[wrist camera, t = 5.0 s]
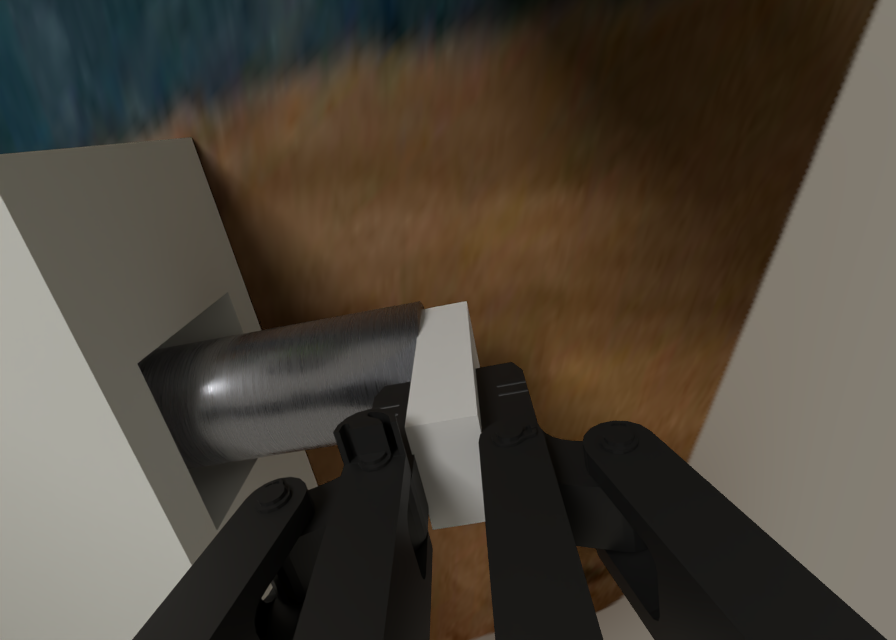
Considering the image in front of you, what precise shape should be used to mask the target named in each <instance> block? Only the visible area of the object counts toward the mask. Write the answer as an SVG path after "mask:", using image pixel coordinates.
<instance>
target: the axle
mask: <svg viewBox="0 0 896 640" xmlns="http://www.w3.org/2000/svg"><path fill="white" fill-rule="evenodd" d="M423 309H424V306H423V304H422V303H421V302H420V301H419V302H414V303H408V304H403V305H397V306H392V307H386V308H381V309H375V310H370V311H364V312H359V313H353V314H348V315H343V316H337V317H332V318H326V319H321V320H315V321H310V322H304V323H299V324H293V325H288V326H282V327H277V328H271V329H266V330H260V331H255V332H249V333H244V334H238V335H233V336H227V337H222V338H216V339H211V340H205V341H200V342H194V343H189V344H183V345H178V346H172V347H167V348H161V349H156V350H154V351H152V352H151V353H150V354H149V355H147V356H146V357H145V358H144V359H142V360H141V361H140V362H139V363H137V364H138V366H139V368H140V370H141V372H142V374H143V376H144V379H145V381H146V383H147V385H148V387H149V389H150V391H151V393H152V395H153V397H154V400H155V402H156V404H157V406H158V408H159V410H160V412H161V414H162V416H163V418H164V421H165V423H166V425H167V427H168V429H169V431H170V433H171V435H172V437H173V439H174V442H175V444H176V446H177V448H178V450H179V452H180V454H181V456H182V458H183V461H184V463H185V465H186V467H187V469H192V468H198V467H204V466H211V465H217V464H223V463H229V462H235V461H242V460H248V459H254V458H260V457H266V456H273V455H279V454H285V453H291V452H297V451H303V450H310V449H316V448H322V447H328V446H334V445H337V442H336V440H335V437H334V434H333V432H334V430H335V428H336V427H337V425H338V424H339V423H341V422H342V421H343V420H344V419H346V418H347V417H349V416H351V415H353V414H355V413H357V412H361V411H364V410H368V409H372V406H373V402H374V398H375V396H376V395H377V394H378V393H379V392H380V391H381V390H382V389H383V387H384V386H388V385H394V384H399V383H405V382H411V378H412V371H413V364H414V357H415V350H416V343H417V337H418V333H419V326H420V319H421V313H422V310H423Z"/></svg>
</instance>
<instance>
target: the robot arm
mask: <svg viewBox="0 0 896 640" xmlns="http://www.w3.org/2000/svg"><path fill="white" fill-rule="evenodd" d="M333 434H334V437H335V440H336V442H337V445H338V448H339V451H340V454H341V457H342V460H343V463H344V467H343V471H342V474H341V476H340V477H338V478H336V479H334V480H332V481H330V482H328V483H325V484H323V485H320V486H318V487H315V488H312V489H310V490H308V488H307V486H306V483H305V482H303V481H302V480H301V479H300V478H295V477H285V478H278V479H276V480H273V481H270V482H268V483H266V484H264V485H262V486H261V487H259V488H258V489H256V490H255V491H254V492H252V493H251V494H250V495H249V496H248V497H247V498H246V499H245V500H244V502H243V503H242V504H241V505H240V507H239V508H238V509H237V510H236V512H235V513H234V514H233V515H232V517H231V518H230V519H229V520H228V522H227V523H226V524H225V525H224V526H223V528H222V529H221V530H220V531H219V533H218V534H217V535H216V536H215V538H214V539H213V540H212V541H211V543H210V544H209V545H208V546H207V548H206V549H205V550H204V551H203V552H202V554H201V555H200V556H199V557H198V559H197V560H196V561H195V562H194V564H193V565H192V566H191V567H190V569H189V570H188V571H187V572H186V574H185V575H184V576H183V577H182V578H181V580H180V581H179V582H178V583H177V585H176V586H175V587H174V588H173V590H172V591H171V592H170V593H169V595H168V596H167V597H166V598H165V599H164V601H163V602H162V603H161V604H160V606H159V607H158V608H157V609H156V611H155V612H154V613H153V614H152V616H151V617H150V618H149V619H148V621H147V622H146V623H145V624H144V625H143V627H142V628H141V629H140V630H139V632H138V633H137V634H136V635H135V637H134V638H133V639H132V640H429V639H430V610H431V581H432V552H433V549H432V544H431V540H430V536H429V533H428V514H429V517H430V521H431V524H432V528H433V530H434V529H440V528H447V527H453V526H460V525H466V524H473V523H479V522H485V524H486V536H487V547H488V559H489V570H490V582H491V594H492V605H493V617H494V628H495V640H603V637H602V634H601V630H600V627H599V623H598V620H597V616H596V613H595V609H594V606H593V603H592V599H591V596H590V592H589V589H588V585H587V582H586V578H585V575H584V572H583V568H582V565H581V561H580V558H579V554H578V551H577V548H576V546H582V547H589V548H596V550H597V553H598V555H599V557H600V559H601V560H602V562H603V563H604V565H605V566H606V568H607V569H608V571H609V572H610V574H611V575H612V577H613V578H614V580H615V581H616V583H617V584H618V586H619V587H620V589H621V590H622V592H623V593H624V595H625V596H626V598H627V599H628V601H629V602H630V604H631V605H632V607H633V608H634V610H635V611H636V613H637V614H638V616H639V617H640V619H641V620H642V622H643V623H644V625H645V626H646V628H647V629H648V631H649V632H650V634H651V635H652V637H653V638H654V640H887V639H886V638H884V637H883V636H882V635H881V634H880V633H879V632H878V631H877V630H876V629H874V628H873V627H872V626H871V625H870V624H869V623H868V622H866V621H865V620H864V619H863V618H862V617H861V616H860V615H859V614H857V613H856V612H855V611H854V610H853V609H852V608H851V607H850V606H848V605H847V604H846V603H845V602H844V601H843V600H842V599H840V598H839V597H838V596H837V595H836V594H835V593H833V592H832V591H831V590H830V589H829V588H828V587H827V586H825V584H823V583H822V582H821V581H820V580H819V579H818V578H817V577H816V576H814V575H813V574H812V573H811V572H810V571H809V570H807V569H806V568H805V567H804V566H803V565H802V564H801V563H800V562H799V561H797V560H796V559H795V558H794V557H793V556H792V555H791V554H789V553H788V552H787V551H786V550H785V549H784V548H783V547H781V546H780V545H779V544H778V543H777V542H776V541H775V540H774V539H772V538H771V537H770V536H769V535H768V534H767V533H766V532H764V531H763V530H762V529H761V528H760V527H759V526H757V524H755V523H754V522H753V521H752V520H751V519H750V518H749V517H747V516H746V515H745V514H744V513H743V512H742V511H741V510H740V509H738V508H737V507H736V506H735V505H734V504H733V503H732V502H731V501H729V500H728V499H727V498H726V497H725V496H724V495H723V494H721V493H720V492H719V491H718V490H717V489H716V488H715V487H714V486H712V485H711V484H710V483H709V482H708V481H707V480H706V479H704V478H703V477H702V476H701V475H700V474H699V473H698V472H697V471H695V470H694V469H693V468H692V467H691V466H690V465H689V464H687V463H686V462H685V461H684V460H683V459H682V458H681V457H680V456H678V455H677V454H676V453H675V452H674V451H673V450H672V449H670V448H669V447H668V446H667V445H666V444H665V443H664V442H663V441H661V440H660V439H659V438H658V437H657V436H656V435H655V434H653V433H652V432H651V431H650V430H648V429H647V428H645V427H643V426H642V425H640V424H636V423H632V422H628V421H610V422H605V423H600V424H598V425H596V426H594V427H592V428H590V429H589V431H588V432H587V433H586V434H585V435H584V439H583V441H569V440H562V439H558V438H555V437H552V436H550V435H548V434H546V433H545V432H544V431H543V430H542V429H541V428H540V427H539V425H538V423H537V419H536V416H535V412H534V409H533V405H532V402H531V398H530V395H529V391H528V388H527V384H526V381H525V377H524V374H523V370H522V369H521V368H519V367H518V366H517V365H515V364H514V363H513V362H510V363H504V364H498V365H493V366H487V367H481V368H480V365H479V360H478V355H477V350H476V345H475V340H474V335H473V330H472V325H471V320H470V315H469V310H468V305H467V301H465V302H460V303H454V304H449V305H444V306H438V307H433V308H428V309H423V310H422V313H421V319H420V326H419V333H418V337H417V343H416V350H415V357H414V364H413V371H412V378H411V382H405V383H399V384H394V385H388V386H384V387H383V389H382V390H381V391H380V392H379V393H378V394H377V395H376V396H375V398H374V402H373V406H372V409H368V410H364V411H361V412H357V413H355V414H353V415H351V416H349V417H347V418H346V419H344V420H343V421H342V422H341V423H339V424H338V425H337V427H336V428H335V430H334V432H333ZM270 583H271V585H272V587H273V588H272V589H271V591H270V593H269V594H268V596H267V597H266V598H265V599H264V600H262V596H263V595H264V593H265V591H266V590H267V588H268V587H269V585H270Z"/></svg>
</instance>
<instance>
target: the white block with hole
mask: <svg viewBox="0 0 896 640" xmlns="http://www.w3.org/2000/svg"><path fill="white" fill-rule="evenodd" d="M260 330H261V328H260V325H259V322H258V320H257V317H256V314H255V311H254V309H253V306H252V303H251V300H250V298H249V295H248V292H247V289H246V287H245V284H244V281H243V278H242V276H241V273H240V270H239V267H238V265H237V262H236V259H235V256H234V254H233V251H232V248H231V245H230V243H229V240H228V237H227V234H226V231H225V229H224V226H223V223H222V220H221V218H220V215H219V212H218V209H217V207H216V204H215V201H214V198H213V196H212V193H211V190H210V187H209V185H208V182H207V179H206V176H205V174H204V171H203V168H202V165H201V163H200V160H199V157H198V154H197V152H196V149H195V146H194V143H193V141H192V138H191V137H190V138H179V139H168V140H156V141H145V142H134V143H123V144H111V145H100V146H89V147H77V148H66V149H55V150H44V151H32V152H21V153H10V154H0V640H132V639H133V638H134V637H135V635H136V634H137V633H138V632H139V630H140V629H141V628H142V627H143V625H144V624H145V623H146V622H147V621H148V619H149V618H150V617H151V616H152V614H153V613H154V612H155V611H156V609H157V608H158V607H159V606H160V604H161V603H162V602H163V601H164V599H165V598H166V597H167V596H168V595H169V593H170V592H171V591H172V590H173V588H174V587H175V586H176V585H177V583H178V582H179V581H180V580H181V578H182V577H183V576H184V575H185V574H186V572H187V571H188V570H189V569H190V567H191V566H192V565H193V564H194V562H195V561H196V560H197V559H198V557H199V556H200V555H201V554H202V552H203V551H204V550H205V549H206V548H207V546H208V545H209V544H210V543H211V541H212V540H213V539H214V538H215V536H216V535H217V534H218V533H219V531H220V530H221V529H222V528H223V526H224V525H225V524H226V523H227V522H228V520H229V519H230V518H231V517H232V515H233V514H234V513H235V512H236V510H237V509H238V508H239V507H240V505H241V504H242V503H243V502H244V500H245V499H246V498H247V497H248V496H249V495H250V494H251V493H252V492H254V491H255V490H256V489H258V488H259V487H261V486H262V485H264V484H266V483H268V482H270V481H273V480H276V479H278V478H285V477H295V478H300V479H301V480H302V481H303V482H305V483H306V486H307V488H308V490H310V489H312V488H315V487H318V485H317V482H316V479H315V477H314V474H313V471H312V468H311V466H310V463H309V460H308V457H307V455H306V452H305V450H303V451H297V452H291V453H285V454H279V455H273V456H266V457H260V458H254V459H248V460H242V461H235V462H229V463H223V464H217V465H211V466H204V467H198V468H192V469H187V467H186V465H185V463H184V461H183V458H182V456H181V454H180V452H179V450H178V448H177V446H176V444H175V442H174V439H173V437H172V435H171V433H170V431H169V429H168V427H167V425H166V423H165V421H164V418H163V416H162V414H161V412H160V410H159V408H158V406H157V404H156V402H155V400H154V397H153V395H152V393H151V391H150V389H149V387H148V385H147V383H146V381H145V379H144V376H143V374H142V372H141V370H140V368H139V366H138V364H137V363H139V362H140V361H141V360H142V359H144V358H145V357H146V356H147V355H149V354H150V353H151V352H152V351H154V350H156V349H161V348H167V347H172V346H178V345H183V344H189V343H194V342H200V341H205V340H211V339H216V338H222V337H227V336H233V335H238V334H244V333H249V332H255V331H260ZM272 588H273V587H272V585H271V583H270V585H269V587H268V588H267V590H266V591H265V593H264V595H263V596H262V600H264V599H265V598H266V597H267V596H268V594H269V593H270V591H271V589H272Z"/></svg>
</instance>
